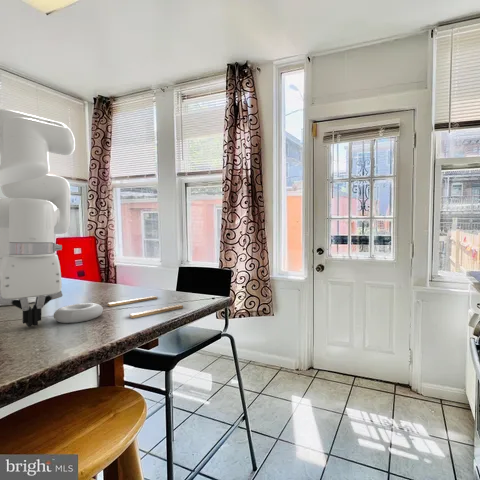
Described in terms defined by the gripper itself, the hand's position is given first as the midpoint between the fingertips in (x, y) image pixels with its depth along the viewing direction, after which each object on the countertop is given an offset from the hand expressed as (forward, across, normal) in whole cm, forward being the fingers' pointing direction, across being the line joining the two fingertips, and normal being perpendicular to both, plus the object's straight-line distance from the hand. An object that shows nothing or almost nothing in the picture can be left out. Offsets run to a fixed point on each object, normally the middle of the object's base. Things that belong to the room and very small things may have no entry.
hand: (32, 324), depth 66 cm
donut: (+1, -9, 0) cm, 9 cm away
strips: (+1, -25, 0) cm, 25 cm away
